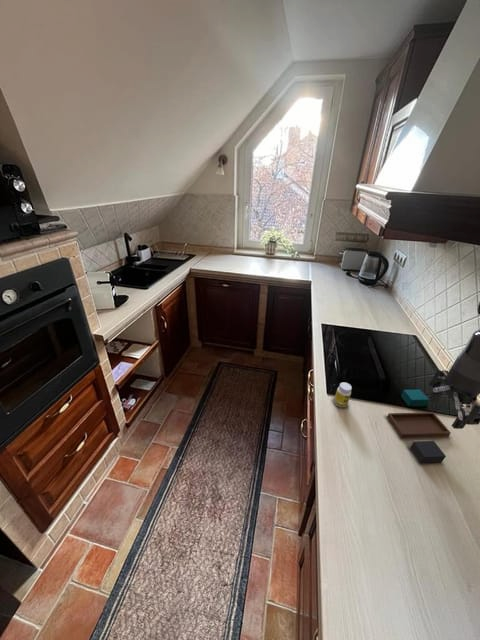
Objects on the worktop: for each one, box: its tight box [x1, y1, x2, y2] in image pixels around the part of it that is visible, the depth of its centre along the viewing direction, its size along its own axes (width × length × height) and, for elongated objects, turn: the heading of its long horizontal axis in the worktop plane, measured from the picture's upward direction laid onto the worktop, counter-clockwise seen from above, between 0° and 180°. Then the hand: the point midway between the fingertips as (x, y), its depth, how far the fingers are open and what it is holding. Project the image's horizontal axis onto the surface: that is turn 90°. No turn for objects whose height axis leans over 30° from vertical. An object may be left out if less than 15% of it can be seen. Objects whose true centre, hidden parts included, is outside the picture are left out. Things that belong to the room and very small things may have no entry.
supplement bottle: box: [333, 381, 353, 408], centre depth 92 cm, size 5×5×8 cm
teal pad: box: [400, 388, 430, 407], centre depth 95 cm, size 6×5×4 cm
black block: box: [409, 440, 447, 465], centre depth 76 cm, size 6×5×4 cm
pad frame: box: [386, 411, 452, 439], centre depth 85 cm, size 16×8×2 cm, turn 93°
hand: (443, 414), depth 71 cm, fingers open, 8 cm apart
